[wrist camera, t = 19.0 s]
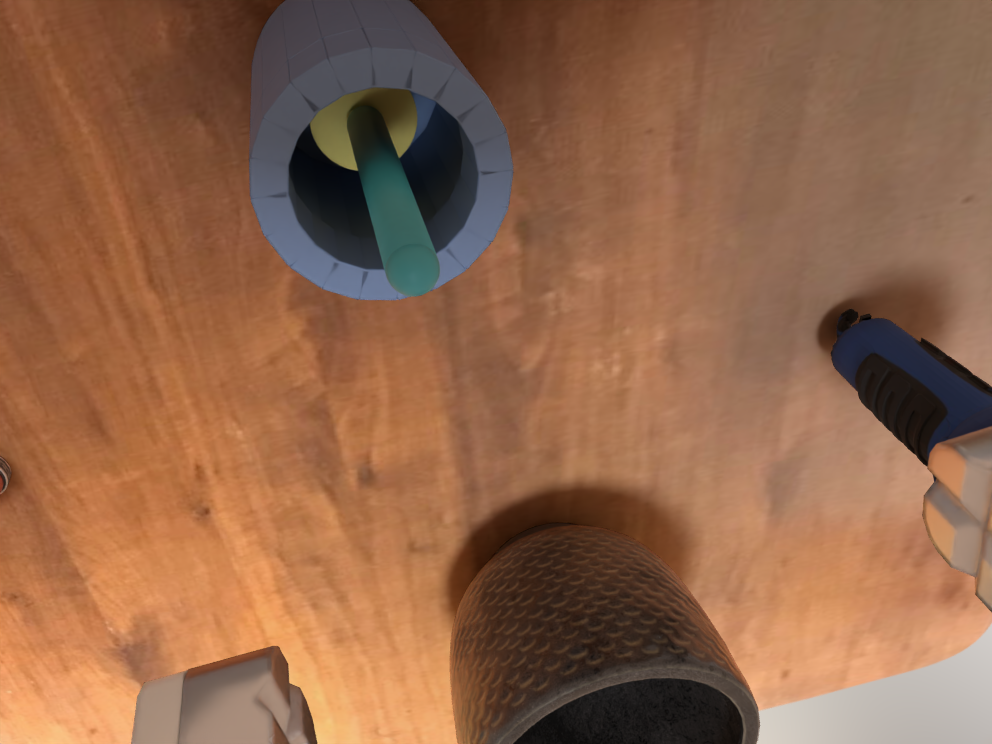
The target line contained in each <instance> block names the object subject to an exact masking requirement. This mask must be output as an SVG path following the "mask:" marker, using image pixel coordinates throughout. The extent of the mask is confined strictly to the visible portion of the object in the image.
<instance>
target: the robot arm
mask: <svg viewBox="0 0 992 744" xmlns="http://www.w3.org/2000/svg"><path fill="white" fill-rule="evenodd" d="M927 469H928V470H929V471H930V472H931V473H932V474H933V475H934V476H935V477H936V478H937V479H936V481H935V482H934V483H933V484H932V486H931V487H930V488H929V490H928V491H927V492H926V493H925V495H924V501H923V515H922V516H923V519H924V523H925V526H926V529H927V533H928V536H929V538H930V540H931V541H932V543H933V545H934V546H935V548H936V550H937V551H938V553H939V554H940V555H941V556H942V557H943V559H944V560H945V561H946V562H947V563H948V564H949V565H950V567H951V568H954V569H956V570H959V571H961V572H964V573H966V574H969V575H971V576H974V577H975V595H976V596H977V597H978V598H979V599H980V600H981V601H982V602H983V603H984V604H985V605H986V607H987V608H988V609H989V610H990V611H991V612H992V426H990V427H987V428H984V429H981V430H978V431H975V432H972V433H968V434H965V435H962V436H959V437H956V438H953V439H949V440H946V441H943V442H940V443H937V444H936V445H935V446H934V448H933V449H932V450H931V452H930V454H929V461H928V468H927ZM131 744H317V740H316V734H315V729H314V724H313V719H312V716H311V713H310V710H309V707H308V704H307V701H306V699H305V697H304V695H303V693H302V691H301V689H300V688H299V687H297V686H295V685H292V684H290V683H289V671H288V663H287V661H286V659H285V657H284V656H283V654H282V652H281V650H280V648H279V647H278V646H271V647H267V648H264V649H260V650H257V651H253V652H249V653H246V654H242V655H239V656H235V657H231V658H228V659H224V660H220V661H217V662H213V663H210V664H206V665H202V666H199V667H195V668H192V669H188V670H187V671H183V672H179V673H176V674H172V675H169V676H165V677H162V678H158V679H155V680H151V681H148V682H144V684H143V686H142V688H141V690H140V692H139V694H138V696H137V703H136V710H135V718H134V726H133V733H132V741H131Z"/></svg>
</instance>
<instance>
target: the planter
mask: <svg viewBox="0 0 992 744" xmlns="http://www.w3.org/2000/svg"><path fill="white" fill-rule="evenodd" d="M450 681H451V695H452V705H453V713H454V720H455V728H456V735H457V741H458V744H756V743H757V741H758V736H759V727H760V720H759V712H758V707H757V704H756V702H755V699H754V697H753V694H752V692H751V690H750V687H749V685H748V683H747V682H746V680H745V678H744V676H743V675H742V673H741V671H740V669H739V668H738V666H737V664H736V663H735V661H734V659H733V657H732V655H731V653H730V652H729V650H728V648H727V646H726V644H725V642H724V641H723V639H722V638H721V636H720V635H719V633H718V632H717V630H716V629H715V627H714V625H713V624H712V622H711V621H710V619H709V618H708V616H707V615H706V613H705V612H704V610H703V609H702V608H701V606H700V605H699V603H698V602H697V601H696V599H695V598H694V597H693V595H692V594H691V593H690V591H689V590H688V588H687V587H686V586H685V585H684V583H683V582H682V581H681V579H680V578H679V577H678V576H677V574H676V573H675V572H674V571H673V570H672V569H671V568H670V567H669V566H668V565H667V564H666V563H665V562H664V561H663V560H662V559H661V558H660V557H658V556H657V555H656V554H655V553H654V552H652V551H651V550H650V549H649V548H647V547H646V546H645V545H643V544H641V543H640V542H638V541H636V540H634V539H632V538H631V537H629V536H627V535H624V534H621V533H618V532H615V531H612V530H609V529H605V528H599V527H593V526H579V525H576V524H570V523H552V524H545V525H540V526H536V527H534V528H531V529H528V530H526V531H524V532H522V533H519V534H518V535H516V536H515V537H513V538H511V539H510V540H509V541H508V542H506V543H505V544H504V545H503V546H502V547H501V548H500V549H499V550H498V551H497V552H496V553H495V555H494V556H493V557H492V559H490V560H489V561H488V562H487V563H486V564H485V566H484V567H483V568H482V569H481V570H480V571H479V572H478V573H477V575H476V576H475V578H474V579H473V580H472V582H471V583H470V585H469V586H468V588H467V589H466V591H465V593H464V595H463V597H462V599H461V601H460V604H459V607H458V610H457V613H456V617H455V621H454V625H453V629H452V636H451V646H450Z"/></svg>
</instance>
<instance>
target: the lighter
mask: <svg viewBox="0 0 992 744" xmlns="http://www.w3.org/2000/svg"><path fill="white" fill-rule="evenodd" d="M10 476H11V470H10V466H9V465H8V463H7V462H6V461H5V460H4V459H3V458H2V457H0V494H2V493H3V492H4V491H5V489H6V488H7V485H8V483H9V480H10Z"/></svg>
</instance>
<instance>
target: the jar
mask: <svg viewBox="0 0 992 744" xmlns="http://www.w3.org/2000/svg"><path fill="white" fill-rule="evenodd" d="M374 87H376V88H391V89H405V90H409V91H410V92H411V94H412V96H413V98H414V101H415V104H416V109H417V128H416V132H415V135H414V138H413V140H412V142H411V144H410V146H409V147H408V149H407V150H406V152H405V153H404V154H403V155H402V156H401V157H400V158H399V159H400V162H401V164H402V167H403V169H404V172H405V175H406V177H407V180H408V182H409V185H410V187H411V190H412V193H413V195H414V198H415V200H416V203H417V206H418V208H419V211H420V213H421V216H422V218H423V221H424V224H425V226H426V229H427V231H428V234H429V236H430V239H431V242H432V244H433V247H434V249H435V252H436V254H437V257H438V260H439V264H440V275H439V278H438V281H437V283H436V285H435V286H434V287H433V288H432V289H431V290H430V291H432V290H433V289H437V288H438V287H440V286H441V285H443V284H445V283H446V282H448V281H450V280H451V279H453V278H455V277H456V276H458V275H459V274H461V273H463V272H464V271H465V270H466V269H468V268H469V267H470V266H471V265H472V263H473V262H474V261H475V260H476V259H477V258H478V257H479V256H480V255H481V254H482V252H483V251H484V250H485V249H486V248H487V247H488V246H489V245H490V244H491V242H493V240H494V238H495V236H496V234H497V231H498V229H499V227H500V225H501V223H502V221H503V219H504V217H505V215H506V212H507V210H508V206H509V200H510V193H511V186H512V178H513V163H512V157H511V152H510V146H509V141H508V135H507V132H506V128H505V127H504V125H503V123H502V121H501V119H500V118H499V116H498V114H497V112H496V110H495V109H494V107H493V105H492V103H491V102H490V100H489V98H488V96H487V95H486V94H485V92H484V91H483V90H482V88H481V87H480V86H479V85H478V83H477V82H476V81H475V79H474V78H473V77H472V75H471V74H470V73H469V72H468V70H467V69H466V68H465V66H464V65H463V64H462V62H461V61H460V60H459V58H458V57H457V56H456V55H455V53H454V52H453V51H452V49H451V48H450V47H449V45H448V44H447V43H446V41H445V40H444V39H443V38H442V36H441V35H440V34H439V32H438V31H437V30H436V28H435V27H434V26H433V24H432V23H431V22H430V21H429V19H428V18H427V17H426V16H425V15H424V14H423V13H422V12H421V11H420V10H419V9H418V8H417V7H416V6H415V5H414V4H413V3H412V2H411V1H409V0H285V1H284V2H283V3H282V4H281V5H279V6H278V8H277V9H276V10H275V11H274V12H273V14H272V15H271V16H270V17H269V19H268V21H267V22H266V24H265V26H264V27H263V29H262V32H261V34H260V36H259V39H258V41H257V45H256V48H255V52H254V57H253V60H252V77H251V114H250V150H249V172H250V197H251V202H252V205H253V208H254V210H255V213H256V216H257V219H258V221H259V224H260V227H261V229H262V232H263V235H264V236H265V237H266V239H267V240H268V241H269V243H270V244H271V245H272V246H273V248H274V249H275V250H276V251H277V253H278V254H279V255H280V256H281V258H282V259H283V260H284V261H285V263H286V264H287V265H289V266H290V268H291V269H293V270H294V271H296V272H297V273H299V274H300V275H302V276H303V277H305V278H306V279H308V280H309V281H311V282H312V283H314V284H316V285H317V286H319V287H320V288H322V289H324V290H327V291H331V292H334V293H337V294H340V295H344V296H347V297H350V298H354V299H357V300H358V299H360V300H397V299H398V300H400V299H403V298H407V297H411V296H405V295H403V294H400V293H399V292H397V291H396V290H395V289H394V288H393V287H392V286H391V285H390V283H389V282H388V280H387V277H386V274H385V270H384V266H383V262H382V259H381V255H380V251H379V247H378V243H377V240H376V236H375V232H374V228H373V225H372V221H371V217H370V213H369V210H368V206H367V202H366V198H365V194H364V191H363V187H362V183H361V179H360V176H359V172H358V171H356V170H350V169H347V168H344V167H342V166H340V165H338V164H336V163H334V162H333V161H331V160H330V159H329V158H328V157H327V156H326V155H325V154H324V153H323V152H322V151H321V150H320V148H319V147H318V146H317V144H316V142H315V140H314V138H313V135H312V133H311V129H310V122H311V121H312V120H313V118H314V117H315V116H316V115H317V113H318V112H319V111H321V110H322V109H324V108H325V107H327V106H328V105H330V104H332V103H333V102H335V101H336V100H338V99H339V98H341V97H342V96H344V95H347V94H351V93H355V92H358V91H362V90H366V89H370V88H374Z"/></svg>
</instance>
